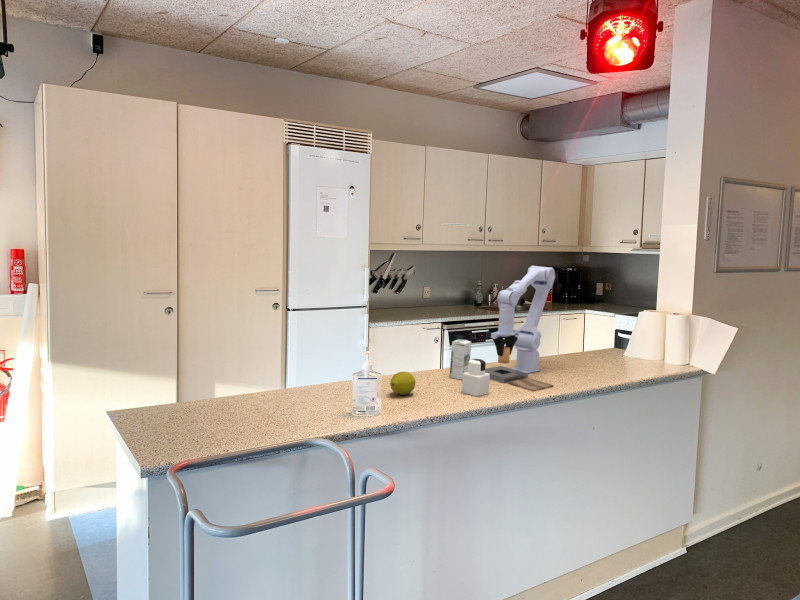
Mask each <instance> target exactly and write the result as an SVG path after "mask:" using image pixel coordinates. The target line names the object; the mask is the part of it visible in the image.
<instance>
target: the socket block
mask: <svg viewBox="0 0 800 600" xmlns="http://www.w3.org/2000/svg"><path fill="white" fill-rule="evenodd" d="M484 373H489V374H490V380H492V381H495V382H499V383H501V384H508V382H511V381H516V380H521V379H526V378H529V373H524V372H521V371H517V370H514V369H511V368H510V367H506V366H504V365H499V366H493V367H492V366H491V367H488V368H487V367H486V368H485V372H484Z"/></svg>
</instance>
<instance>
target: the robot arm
mask: <svg viewBox="0 0 800 600" xmlns="http://www.w3.org/2000/svg"><path fill="white" fill-rule="evenodd" d="M555 279H556V272H555V269H554V268H553V267H550V266H549V267H547V266H541V265H540V266H539V265H538V266H537V265H533V264H532V265H531V266H529V267H528V269H527V273H526V274H525V275H524V276H523V277H522V279H521V280H519V279H518V280H515V281H513V283H512V284H511V285H510V286H508V288H506V289H502V290H500V291H499V292H498V294H497V297H496V298H497V303H498V305H497V307H498V309H499V315H498V329H497V331H495V332H491V333H490V339H492V341H493V344H494V346H495V349H496V355H497V356H498V355H499V356H502V355H503V350H504V346H507V347H510V356H511V355H512V352H513V349H514V347H515V349H516V358H515V360H516V361H515V367H511V368H510V369H514V370H517V371H521V372H524V373H528V374H530V373H536V372H540V371H541V369H540V368H539V367H540V366H539V365H540V353H539V351H538V349H539V347H540V345H541V338H542V334H541V332H540V331H539V329H538V326H539V324H540V320H541V317H542V314H543V312H544V311H543V310H544V307H545V304H546V301H547V298H548V295H549V291H550V290H551V289H552V288H553V285H554V282H555ZM529 286H532V287H533V288H534V289H535V292H534V295H533V299H532V301H531V304H530V307H529V310H528V313H527V317H526V319H525V323H524V325H522V326H519V327H518V328H517V329H514V324H515V323H514V322H515V310H516V309H515V308H516V306H517V304H518V302H519V300H520V298H521V297H522V296H523V295H524V294H526V292H527V291H528V287H529Z"/></svg>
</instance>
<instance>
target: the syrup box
mask: <svg viewBox="0 0 800 600" xmlns="http://www.w3.org/2000/svg"><path fill="white" fill-rule="evenodd" d="M471 350H472V341H470V340H468V339H456V340H452V341H451V351H450V352H451V353H450V367H449V378H450V379H456V380H459V381H460V380H461V381H462V377H463V373H466V372H469V371H468V362H469V360H471Z"/></svg>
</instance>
